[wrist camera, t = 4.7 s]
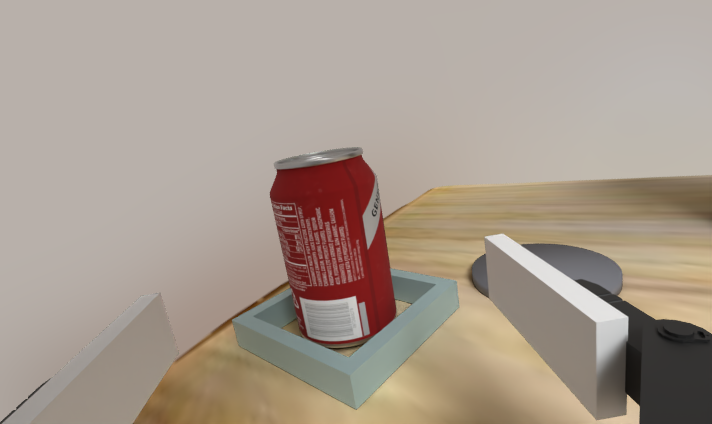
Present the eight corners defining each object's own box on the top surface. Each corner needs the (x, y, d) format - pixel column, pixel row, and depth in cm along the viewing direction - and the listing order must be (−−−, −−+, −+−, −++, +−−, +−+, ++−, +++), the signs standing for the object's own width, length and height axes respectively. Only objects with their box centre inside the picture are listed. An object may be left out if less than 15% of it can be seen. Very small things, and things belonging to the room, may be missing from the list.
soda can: (372, 365, 22) (337, 159, 19) (281, 347, 25) (239, 170, 22) (411, 307, 27) (389, 141, 24) (333, 298, 31) (305, 151, 28)
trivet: (501, 246, 35) (500, 238, 35) (632, 261, 29) (632, 251, 28) (450, 293, 28) (449, 283, 28) (607, 327, 22) (607, 314, 21)
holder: (345, 280, 34) (342, 259, 33) (459, 306, 26) (456, 280, 26) (238, 345, 26) (231, 319, 26) (356, 409, 19) (349, 375, 18)
